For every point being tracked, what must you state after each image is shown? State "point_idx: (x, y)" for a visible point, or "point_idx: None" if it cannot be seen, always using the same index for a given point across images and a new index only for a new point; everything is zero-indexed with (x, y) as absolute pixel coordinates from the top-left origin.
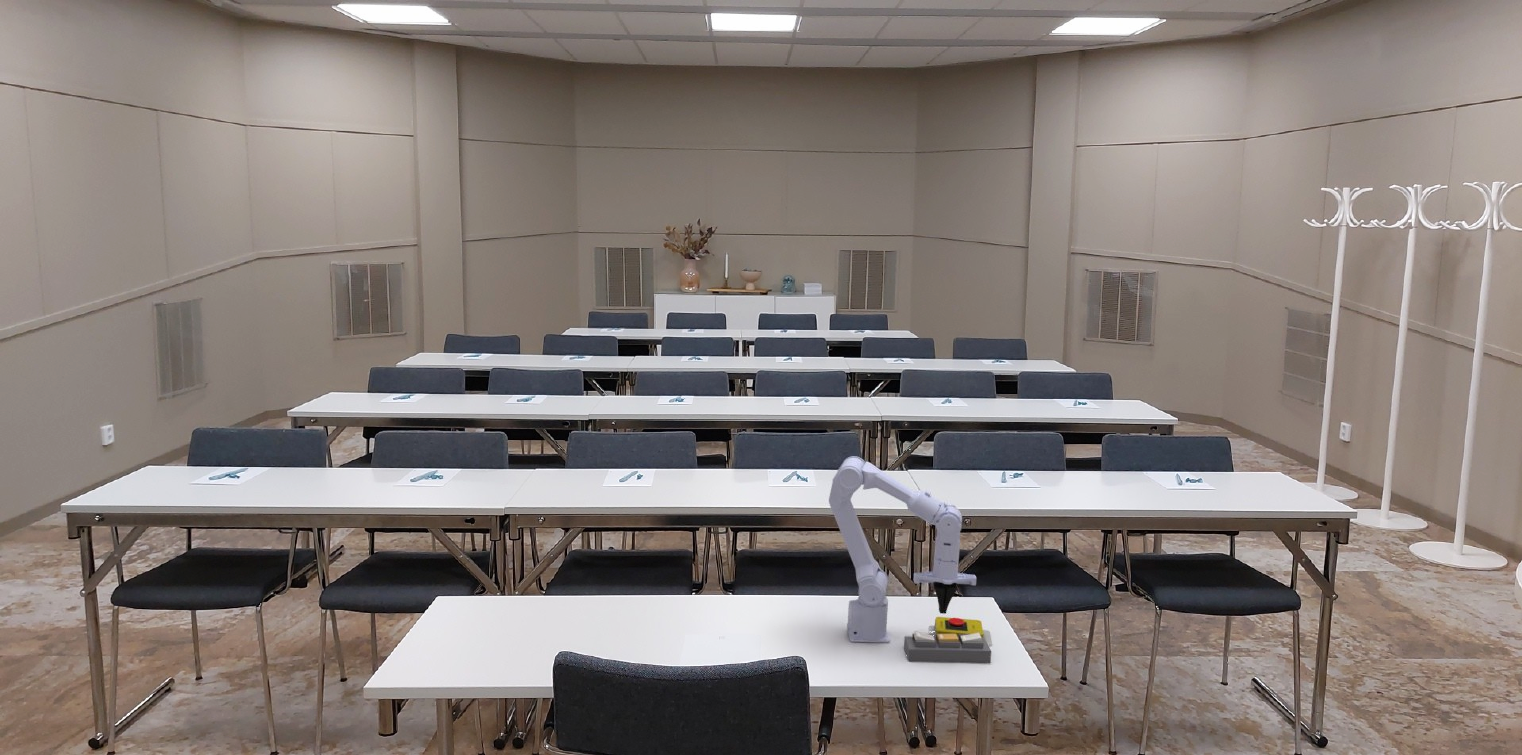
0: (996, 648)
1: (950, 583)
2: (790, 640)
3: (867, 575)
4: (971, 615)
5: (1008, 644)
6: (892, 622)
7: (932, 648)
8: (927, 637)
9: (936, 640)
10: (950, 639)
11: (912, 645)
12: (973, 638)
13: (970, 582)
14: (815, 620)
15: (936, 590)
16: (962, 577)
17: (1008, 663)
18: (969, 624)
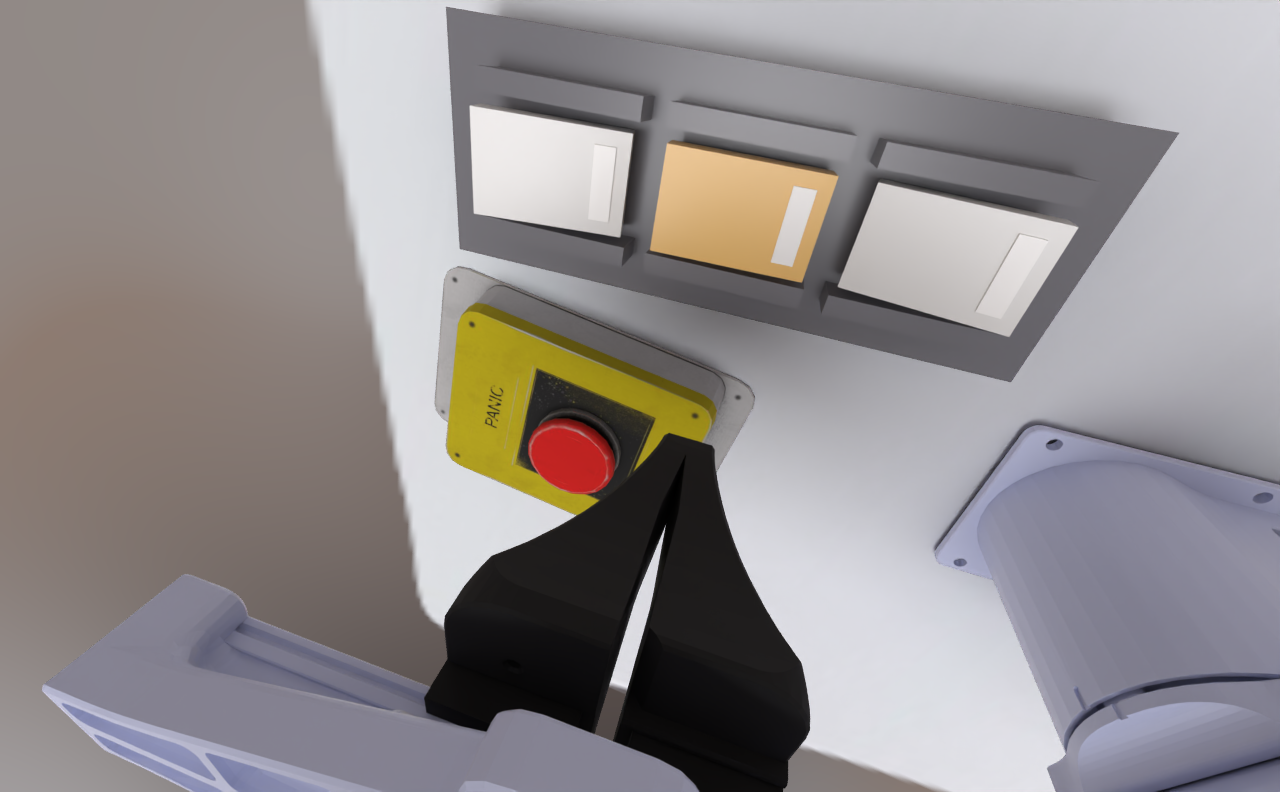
0: (429, 237)
1: (529, 740)
2: None
3: None
4: (481, 540)
5: (367, 271)
6: (842, 591)
7: (923, 123)
8: (934, 231)
9: None
10: (737, 157)
11: (1074, 213)
12: (536, 131)
13: (229, 644)
14: None
15: (799, 669)
16: (276, 774)
17: (386, 5)
18: (508, 436)
